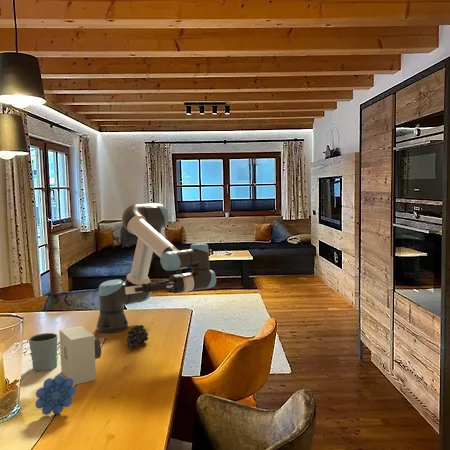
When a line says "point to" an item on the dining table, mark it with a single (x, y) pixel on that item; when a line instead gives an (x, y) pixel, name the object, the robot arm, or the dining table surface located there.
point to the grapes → (55, 394)
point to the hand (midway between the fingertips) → (126, 290)
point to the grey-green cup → (43, 351)
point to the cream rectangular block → (78, 354)
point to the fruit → (136, 337)
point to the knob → (97, 348)
